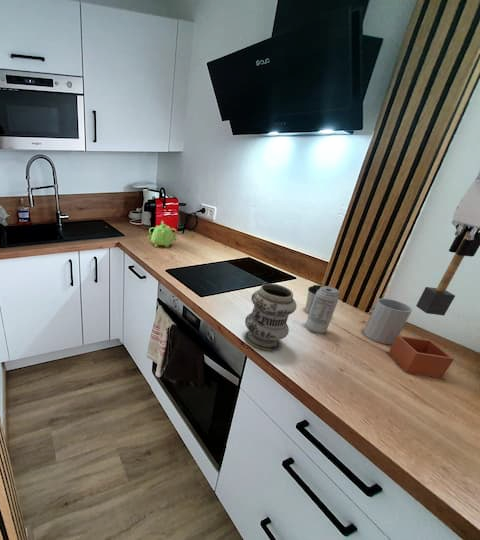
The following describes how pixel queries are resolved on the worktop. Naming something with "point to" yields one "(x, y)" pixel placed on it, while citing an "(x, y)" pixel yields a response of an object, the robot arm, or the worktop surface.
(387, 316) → the grey cylindrical container
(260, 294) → the apothecary jar
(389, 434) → the worktop surface
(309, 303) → the coffee cup
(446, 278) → the brush
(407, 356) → the holder
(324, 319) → the energy drink can
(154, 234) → the teapot
